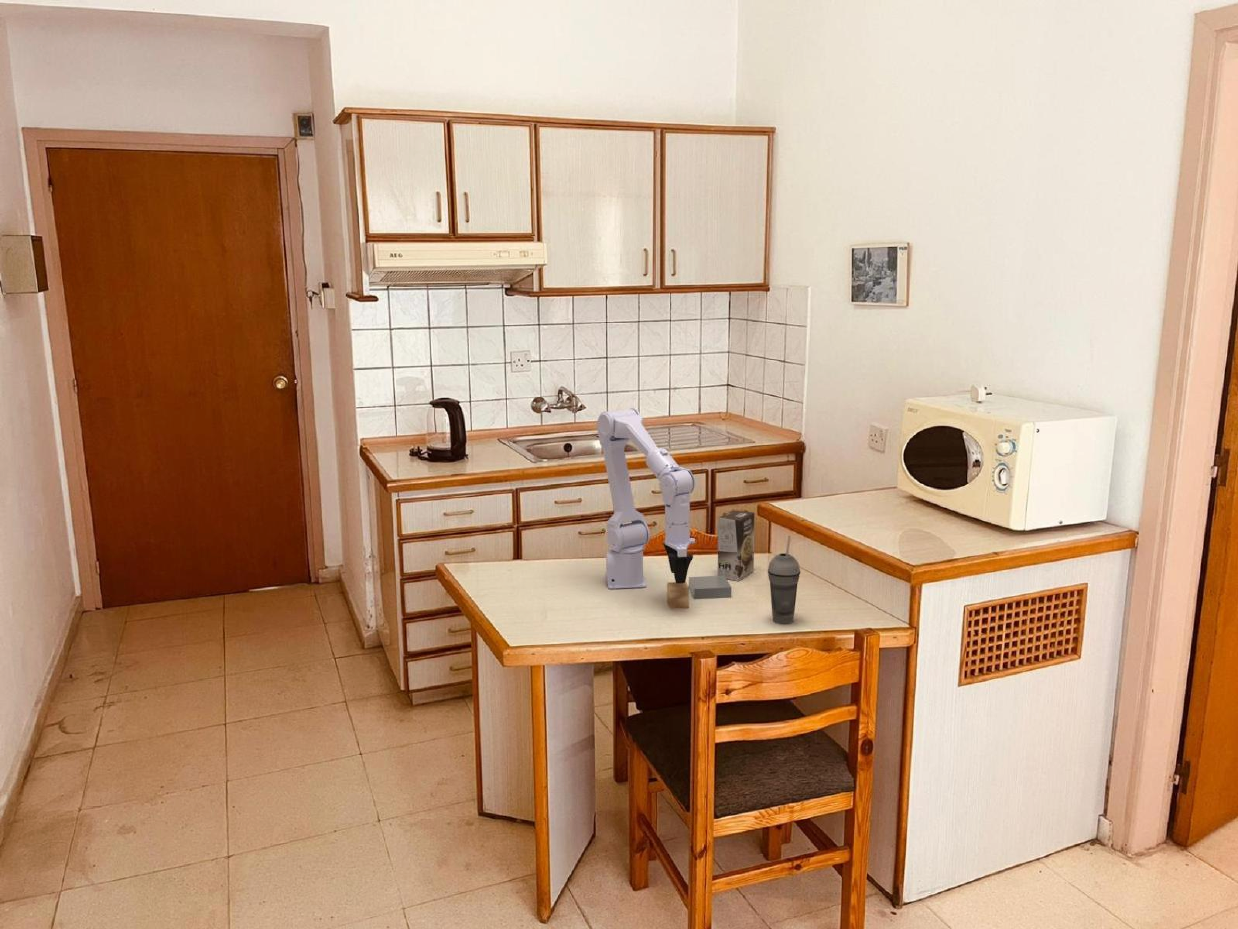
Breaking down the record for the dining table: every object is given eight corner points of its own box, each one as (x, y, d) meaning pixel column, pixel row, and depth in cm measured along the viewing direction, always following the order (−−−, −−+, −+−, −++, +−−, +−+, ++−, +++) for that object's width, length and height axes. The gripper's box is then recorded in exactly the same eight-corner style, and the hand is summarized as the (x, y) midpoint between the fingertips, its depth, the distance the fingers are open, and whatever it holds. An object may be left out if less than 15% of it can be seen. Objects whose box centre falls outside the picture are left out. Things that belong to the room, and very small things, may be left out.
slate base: (694, 599, 233) (694, 589, 233) (688, 586, 242) (688, 577, 241) (731, 597, 234) (731, 587, 233) (724, 585, 242) (724, 575, 242)
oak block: (669, 609, 227) (669, 588, 226) (667, 602, 231) (667, 582, 230) (688, 608, 227) (688, 588, 226) (685, 601, 232) (685, 581, 231)
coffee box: (739, 581, 245) (740, 520, 241) (716, 577, 248) (716, 516, 245) (754, 571, 252) (755, 511, 249) (732, 568, 256) (732, 508, 252)
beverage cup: (777, 612, 223) (778, 528, 219) (805, 619, 219) (807, 534, 215) (760, 621, 218) (761, 536, 214) (789, 629, 213) (790, 541, 209)
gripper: (699, 529, 218) (699, 586, 221) (689, 513, 232) (690, 567, 235) (668, 530, 218) (669, 588, 220) (660, 514, 232) (661, 568, 235)
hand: (678, 577), depth 228 cm, fingers open, 7 cm apart
